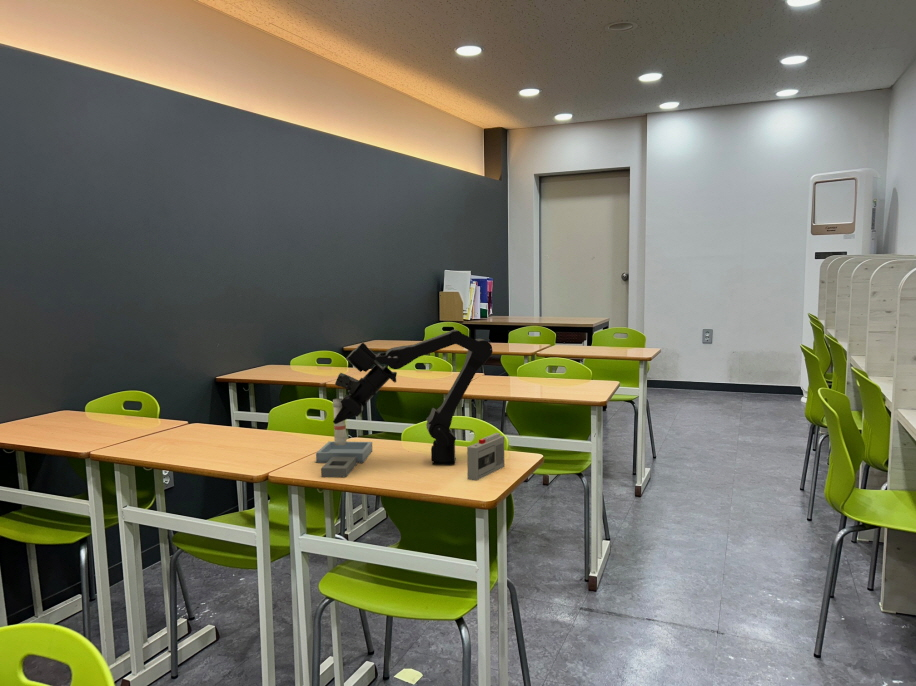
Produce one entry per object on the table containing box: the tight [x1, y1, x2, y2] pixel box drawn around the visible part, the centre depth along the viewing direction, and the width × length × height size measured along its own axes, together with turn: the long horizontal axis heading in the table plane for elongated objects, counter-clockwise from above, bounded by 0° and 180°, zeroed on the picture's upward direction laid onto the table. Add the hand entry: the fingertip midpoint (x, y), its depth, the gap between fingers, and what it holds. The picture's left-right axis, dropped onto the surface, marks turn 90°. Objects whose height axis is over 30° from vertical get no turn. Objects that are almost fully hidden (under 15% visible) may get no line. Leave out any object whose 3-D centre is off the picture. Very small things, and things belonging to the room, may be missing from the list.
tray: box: [315, 440, 373, 464], centre depth 201 cm, size 14×14×3 cm
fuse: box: [332, 398, 348, 445], centre depth 189 cm, size 3×3×13 cm
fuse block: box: [320, 457, 357, 478], centre depth 186 cm, size 7×12×2 cm, turn 176°
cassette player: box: [466, 432, 505, 481], centre depth 183 cm, size 16×3×10 cm, turn 147°
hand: (334, 421), depth 189 cm, fingers closed on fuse, 3 cm apart
